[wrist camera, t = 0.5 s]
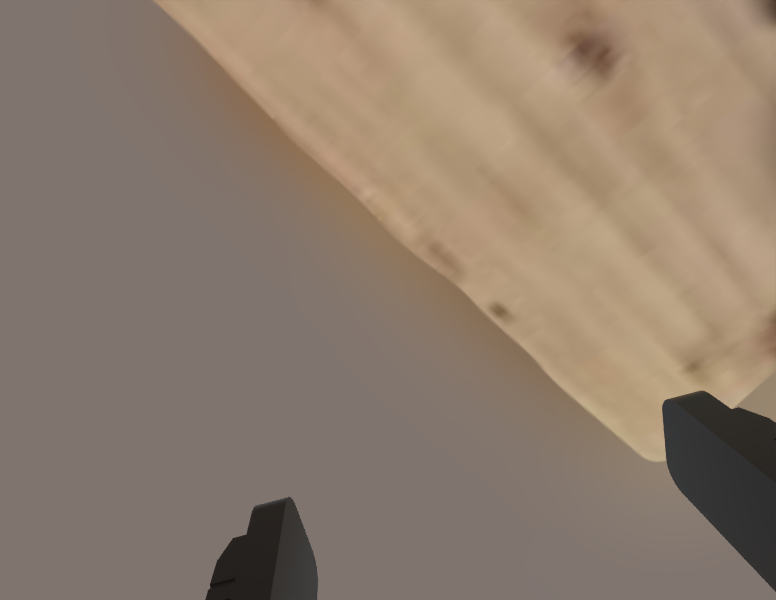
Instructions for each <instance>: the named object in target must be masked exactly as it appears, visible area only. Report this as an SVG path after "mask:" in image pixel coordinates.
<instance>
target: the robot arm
mask: <svg viewBox="0 0 776 600" xmlns="http://www.w3.org/2000/svg"><path fill="white" fill-rule="evenodd" d="M662 412H663V424H664V436H665V448H666V460H667V465H668V469H669V471H670V474H671V476H672V478H673V480H674V482H675V484H676V485H677V487H678V488H679V490H680V491H681V492H682V493H683V494H684V495H685V496H686V497H687V498H688V499H689V500H690V502H691V503H693V505H694V506H695V507H696V508H697V509H698V510H699V511H700V512H701V513H702V514H703V515H704V516H705V517H706V518H707V519H708V521H709V522H710V523H711V524H712V525H713V526H714V527H715V528H716V529H717V530H718V531H719V532H720V533H721V534H722V535H723V536H724V537H725V539H726V540H727V541H728V542H729V543H730V544H731V545H732V546H733V547H734V548H735V549H736V550H737V551H738V552H739V553H740V554H741V556H742V557H743V558H744V559H745V560H746V561H747V562H748V563H749V564H750V565H751V566H752V567H753V568H754V569H755V570H756V571H757V572H758V574H759V575H760V576H761V577H762V578H763V579H765V581H766V582H767V583H768V584H769V585H770V586H771V587H772V588H773V589H774V590H775V591H776V423H775V422H774V421H772V420H771V419H769V418H767V417H764V416H761V415H758V414H756V413H753V412H750V411H747V410H745V409H742V408H739V407H738V408H734V409H730V408H729V407H728V406H726V405H725V404H723V403H722V402H721V401H719V400H718V399H716V398H715V397H713V396H712V395H711V394H709V393H707V392H705V391H698V392H694V393H690V394H686V395H682V396H678V397H675V398H671V399H667V400H665V401H664V403H663V407H662ZM210 587H211V588H210V589H209V590H208V593H207V596H206V600H317V590H318V576H317V567H316V562H315V557H314V554H313V551H312V548H311V545H310V543H309V540H308V537H307V535H306V532H305V529H304V527H303V524H302V522H301V519H300V516H299V513H298V511H297V508H296V506H295V503H294V501H293V499H291V498H290V497H288V498H284V499H280V500H276V501H272V502H268V503H265V504H261V505H257V506H255V507H254V509H253V511H252V514H251V518H250V523H249V527H248V531H247V535H243V536H240V537H236V538H233V539H232V541H231V542H230V543H229V545H228V546H227V548H226V549H225V551H224V552H223V553H222V555H221V556H220V558H219V559H218V560H217V563H216V567H215V570H214V573H213V576H212V580H211V583H210Z"/></svg>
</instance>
